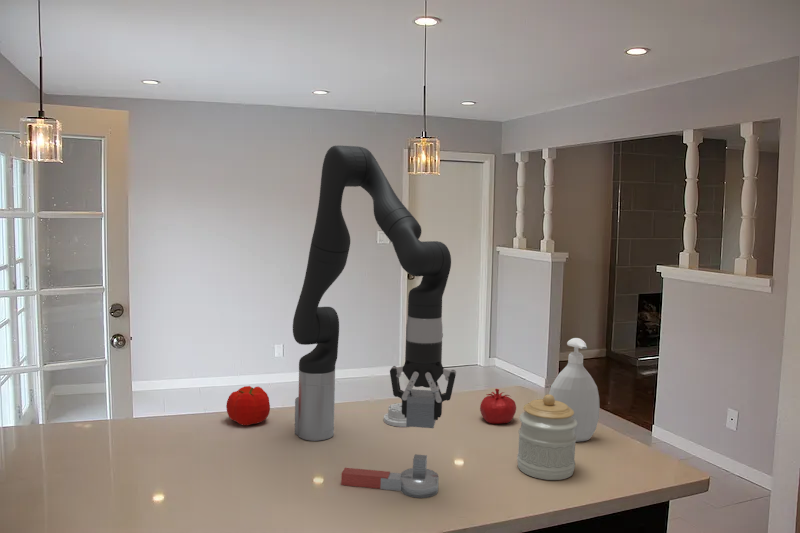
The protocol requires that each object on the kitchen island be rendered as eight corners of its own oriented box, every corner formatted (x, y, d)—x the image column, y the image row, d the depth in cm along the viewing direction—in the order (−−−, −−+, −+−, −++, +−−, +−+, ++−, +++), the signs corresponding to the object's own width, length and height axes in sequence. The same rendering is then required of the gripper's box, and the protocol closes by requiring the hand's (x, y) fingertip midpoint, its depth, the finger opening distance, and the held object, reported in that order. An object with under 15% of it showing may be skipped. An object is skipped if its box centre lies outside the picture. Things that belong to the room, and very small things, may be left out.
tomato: (235, 414, 177) (235, 382, 176) (276, 417, 175) (276, 385, 174) (219, 426, 166) (219, 393, 165) (262, 430, 165) (263, 396, 164)
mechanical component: (379, 425, 171) (415, 429, 169) (380, 410, 171) (416, 413, 169) (388, 414, 181) (422, 417, 179) (388, 399, 181) (422, 402, 179)
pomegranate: (517, 428, 173) (520, 395, 172) (481, 426, 173) (483, 393, 172) (511, 415, 183) (514, 384, 182) (477, 413, 183) (479, 382, 182)
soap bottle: (552, 447, 159) (557, 342, 156) (540, 435, 167) (545, 335, 164) (605, 445, 161) (612, 341, 159) (591, 434, 169) (597, 335, 167)
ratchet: (439, 483, 136) (440, 451, 135) (436, 499, 128) (437, 466, 127) (347, 474, 139) (347, 443, 138) (338, 490, 131) (339, 457, 130)
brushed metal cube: (406, 426, 129) (407, 396, 128) (409, 417, 134) (410, 389, 134) (433, 428, 128) (434, 398, 128) (436, 419, 134) (436, 390, 133)
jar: (576, 463, 149) (580, 390, 147) (572, 485, 137) (577, 406, 135) (521, 454, 153) (524, 384, 152) (512, 475, 141) (516, 398, 139)
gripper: (386, 339, 127) (384, 421, 129) (457, 343, 125) (455, 426, 126) (392, 332, 134) (390, 409, 136) (459, 336, 132) (457, 414, 134)
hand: (421, 417), depth 131 cm, fingers closed on brushed metal cube, 5 cm apart
